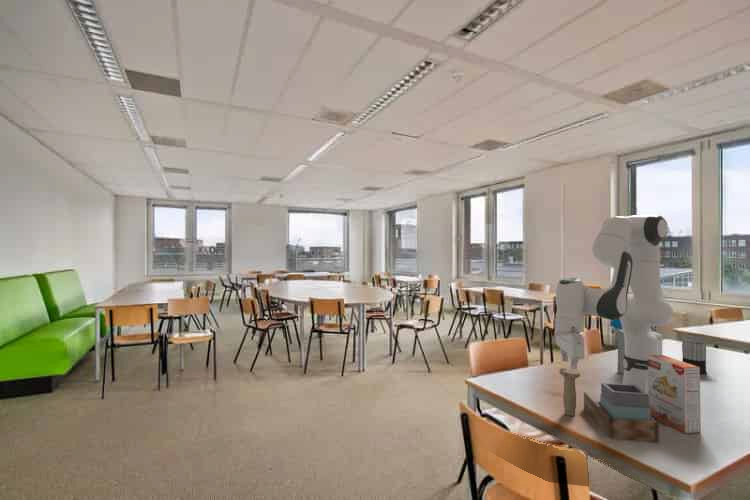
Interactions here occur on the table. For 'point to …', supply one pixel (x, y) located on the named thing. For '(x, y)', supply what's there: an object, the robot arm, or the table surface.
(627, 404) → the box
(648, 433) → the bay
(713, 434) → the table surface
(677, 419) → the cracker box
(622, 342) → the hard drive box
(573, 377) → the handle
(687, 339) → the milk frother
